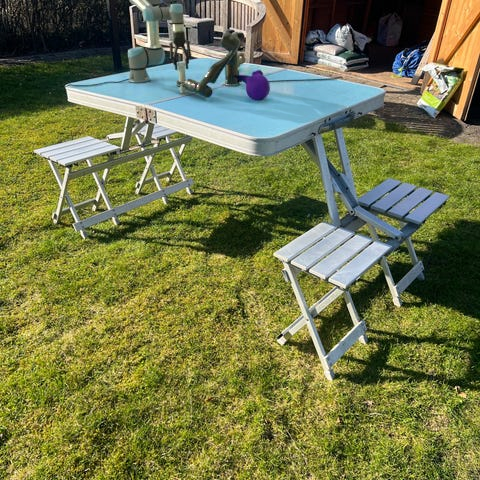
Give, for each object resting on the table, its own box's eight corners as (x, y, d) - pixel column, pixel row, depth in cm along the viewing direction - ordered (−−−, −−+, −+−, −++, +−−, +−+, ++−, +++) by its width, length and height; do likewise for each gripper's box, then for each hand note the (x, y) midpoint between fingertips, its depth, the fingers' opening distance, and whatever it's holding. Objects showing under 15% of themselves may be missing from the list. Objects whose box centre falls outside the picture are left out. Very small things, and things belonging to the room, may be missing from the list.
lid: (185, 65, 298) (185, 61, 297) (184, 66, 294) (184, 63, 292) (178, 65, 298) (177, 62, 296) (177, 66, 293) (177, 63, 292)
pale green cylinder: (187, 91, 305) (185, 63, 296) (185, 92, 302) (183, 64, 293) (181, 91, 306) (179, 63, 297) (179, 92, 303) (177, 64, 293)
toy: (254, 92, 298) (269, 106, 277) (229, 87, 290) (243, 101, 270) (261, 68, 290) (277, 80, 269) (236, 62, 282) (250, 75, 262)
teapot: (225, 72, 363) (224, 52, 355) (218, 70, 371) (218, 50, 364) (248, 69, 372) (247, 50, 364) (241, 67, 381) (240, 48, 373)
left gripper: (190, 29, 292) (193, 67, 303) (161, 31, 284) (165, 70, 296) (195, 30, 286) (197, 68, 298) (165, 32, 278) (169, 71, 290)
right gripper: (201, 78, 292) (189, 74, 304) (181, 81, 285) (170, 77, 298) (202, 90, 295) (190, 86, 308) (182, 93, 289) (171, 88, 301)
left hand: (181, 69), depth 297 cm, fingers open, 7 cm apart
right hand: (180, 81), depth 303 cm, fingers closed on pale green cylinder, 4 cm apart
